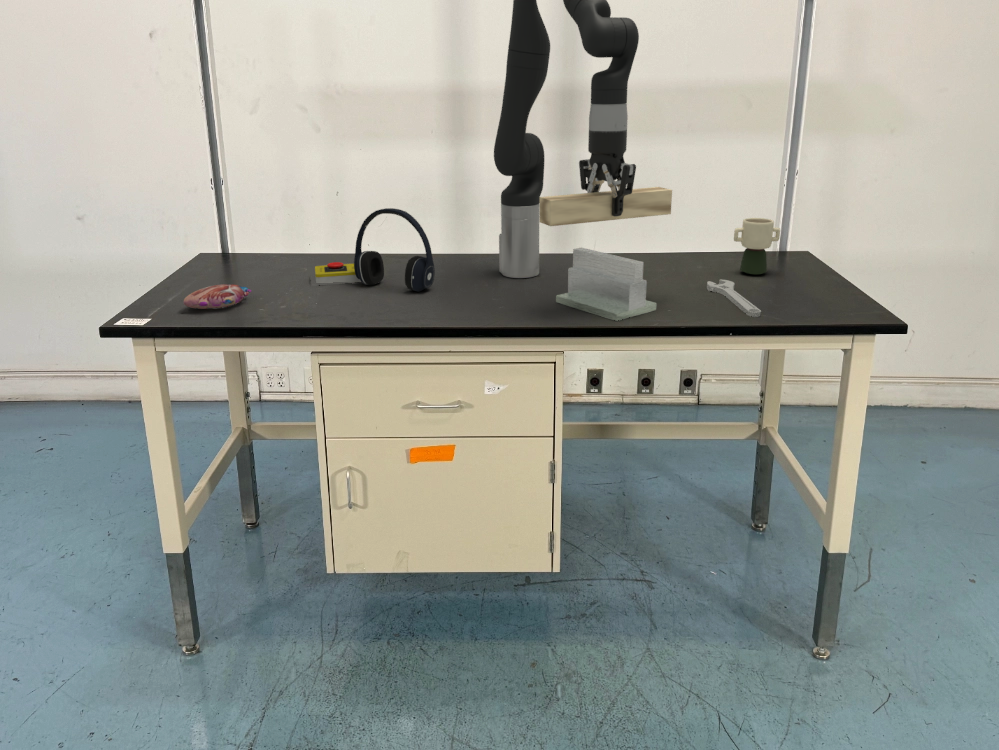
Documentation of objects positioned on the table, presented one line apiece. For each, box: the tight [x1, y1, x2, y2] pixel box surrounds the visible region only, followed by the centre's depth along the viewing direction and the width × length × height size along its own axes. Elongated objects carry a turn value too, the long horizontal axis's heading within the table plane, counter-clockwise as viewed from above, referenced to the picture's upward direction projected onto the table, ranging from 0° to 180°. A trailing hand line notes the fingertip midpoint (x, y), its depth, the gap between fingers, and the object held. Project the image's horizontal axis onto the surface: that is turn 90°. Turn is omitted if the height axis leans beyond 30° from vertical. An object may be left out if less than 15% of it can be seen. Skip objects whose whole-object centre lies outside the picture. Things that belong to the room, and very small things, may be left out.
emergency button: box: [314, 261, 361, 283], centre depth 194 cm, size 9×4×15 cm
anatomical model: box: [182, 283, 252, 310], centre depth 175 cm, size 11×6×15 cm
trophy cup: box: [733, 217, 781, 275], centre depth 193 cm, size 11×7×13 cm, turn 89°
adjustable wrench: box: [706, 279, 762, 318], centre depth 174 cm, size 25×6×2 cm, turn 0°
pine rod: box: [539, 186, 673, 227], centre depth 163 cm, size 5×28×5 cm, turn 113°
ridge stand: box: [555, 247, 657, 322], centre depth 169 cm, size 18×12×11 cm, turn 39°
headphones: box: [353, 207, 436, 292], centre depth 184 cm, size 20×7×18 cm, turn 63°
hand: (605, 213), depth 164 cm, fingers closed on pine rod, 5 cm apart
